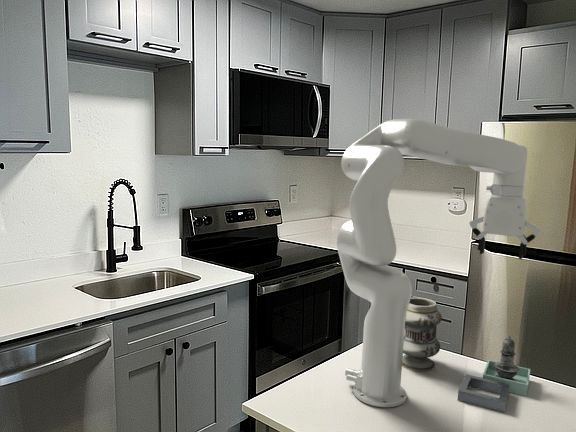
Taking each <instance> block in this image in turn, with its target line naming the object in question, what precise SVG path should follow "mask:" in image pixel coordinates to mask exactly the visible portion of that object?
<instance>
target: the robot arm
mask: <svg viewBox="0 0 576 432" xmlns="http://www.w3.org/2000/svg"><path fill="white" fill-rule="evenodd" d="M403 156H410V157H414V158H417V159H418V158H419V159H422V160H427V161H432V162H436V163H439V164H443V165H450V166H456V167H469V168H471V169H472V170H473V171H475V172H481V173H493V178H492V179H493V180H492V185H490V186H486V192H489V193H491V195H488V196H487V199H486V203H485V208H484V212H483V213H484V214H483V216H481V217H478V218H475V219H474V220H471V221H469V226H470V228H471V230H472V232H473V234H474V235H475V237H477V239H478V242H477V243H478V245H477V250H478V251H479V255H482V254H484V253H485V247H486V238H485V236H486V235H487V234H488V235H489V234H490V235H494V236H495V235H496V236H504V237H515V238H518V239H519V240H520V244H519V250H518V251H519V252H518V259H519V260H522V259H523V257H526V253H527V244H529V243H530V242H532V241H533V240H535V238H536V237H537V235H538V234H539V233H540V231H541V228H540V227H538V226H537V225H535V224H534V223H532V222H530V221H528V220H527V219H526V218H527V201H526V198H525V197H523V196H524V188H525V178H526V170H527V162H528V160H527V159H528V148H527V147H526V146H525V145H521V144H518V143H516V142H514V141H510V140H507V139H504V138H501V137H500V138H499V137H495V136H489V135H486V134H485V135H484V134H480V133H474V132H471V131H465V130H460V129H455V128H451V127H448V126H444V125H440V124H438V123H434V122H430V121H427V120H423V119H419V118H397V119H389V120H387V121H384V122H382V123H380V124H379V125H378V126H376V127H375V128H374V129H372V130H370V131H369V132H368V133H366V134H365V135H364V136H362V137H361V138H359V139H358V140H357V141H355V142H353V143H352V144H351V145H350V146H349V147H348V148H347V149H346V150H345V151H344V153H343V155H342V157H341V164H340V165H341V170H342V172H343V173H344V175H345V176H346V177H347V178H349V179H350V180H353V181H356V184H355V185H354V187H353V190H352V192H351V193H350V198H349V203H348V204H349V205H348V207H349V214H350V220H347V221H346V222H343V224H342V225H341V226H340V228H339V231H338V233H337V236H336V247H337V252H338V253H337V254H338V256H339V260H340V265H341V268H342V271H343V275H344V278H345V281H346V284H347V286H348V288H349V289H350V291H351V292H352V293H354V294H355V295H357V296H358V297H360V298H362V299H363V300H366V301H368V302H369V303H370V308H369V309H368V311H367V313H366V315H365V318H364V321H363V330H362V331H363V335H362V338H363V339H362V349H361V350H362V352H361V367H360V368H361V369H359V370H355V369H352V368H348V367H347V368H346V369H345V372H344V375H345V378H346V381H350V382H354V383H355V384H354V386H353V394H354V397H356V399H358V400H359V401H361V402H363V403H364V404H367V405H369V406H373V407H378V408H395V407H398V406H401V405H403V404H404V403H405V402H406V401H407V391H406V389H405V388H404V387H403V386H401V385H402V384H401V383H402V382H401V381H402V369H403V366H402V358H403V356H404V353H403V345H404V330H405V320H406V314H407V309H408V305H409V302H410V299H411V298H412V293H413V286H412V282H411V280H410V278H409V277H408V275H407V274H405V273H404V272H403V271H401V270H400V269H399V268H398V269H397V268H395V267H393V266H390V264H391V263H393V261H394V260H395V258H396V255H397V244H396V243H397V242H396V237H395V233H394V229H393V225H392V221H391V216H390V211H389V202H388V201H389V198H390V193H391V191H392V189H393V188H394V186H395V185H396V182H397V181H398V179H400V176H401V174H402V172H403V171H404V164H405V163H404V157H403ZM481 223H482V231H480V229H478V227H477V225H478V224H481ZM526 227H527V228H528V229H530V230H532V232H531V233H530V235H528V236H527V237H526V235H525V229H526Z"/></svg>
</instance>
